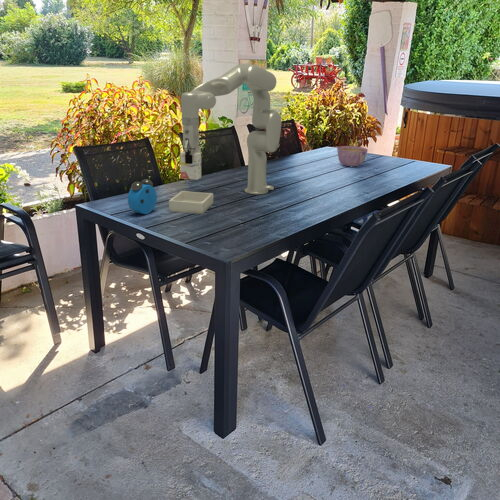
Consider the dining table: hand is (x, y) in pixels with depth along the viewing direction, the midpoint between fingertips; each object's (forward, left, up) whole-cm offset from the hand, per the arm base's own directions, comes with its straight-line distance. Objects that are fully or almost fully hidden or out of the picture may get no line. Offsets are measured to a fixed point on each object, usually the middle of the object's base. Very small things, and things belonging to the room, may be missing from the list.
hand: (190, 161), depth 227 cm
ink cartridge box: (0, 0, -8) cm, 8 cm away
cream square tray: (0, 0, -22) cm, 22 cm away
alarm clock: (+18, +15, -22) cm, 32 cm away
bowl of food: (-72, -121, -22) cm, 143 cm away
